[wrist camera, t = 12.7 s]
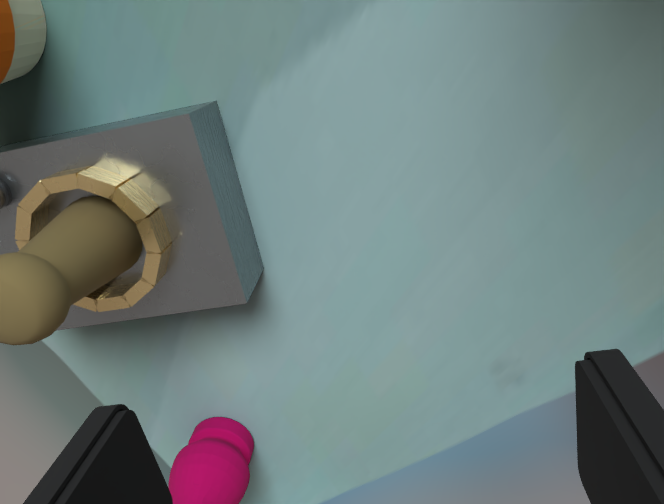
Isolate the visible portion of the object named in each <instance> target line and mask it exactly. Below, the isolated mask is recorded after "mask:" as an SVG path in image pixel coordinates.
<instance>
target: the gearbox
mask: <svg viewBox="0 0 664 504" xmlns="http://www.w3.org/2000/svg"><path fill="white" fill-rule="evenodd" d="M90 196H97V197H102V198H107V199H109V200H111V201H113V202H114V203H115V204H116V205H117V206H118V207H119V208H120V209H121V210H122V211H123V212H125V213H126V214H127V215H128V216H129V217H130V218H131V219H132V220H133V221H134V222H135V223H136V225H137V228H138V231H139V233H140V236H141V239H142V252H141V254H140V257H139V259H138V261H137V262H136V263H135V264H134V265H133V266H132V267H131V268H130V269H128V270H127V271H125V272H124V273H122V274H120V275H119V276H117V277H116V278H114V279H112V280H111V281H109V282H108V283H106V284H104V285H103V286H101V287H100V288H98V289H97V290H95V291H93V292H92V293H90V294H89V295H87V296H85V297H84V298H82V299H81V300H79V301H77V302H76V303H74V304H73V305H71V306H70V309H69V312H68V315H67V317H66V319H65V321H64V322H63V323H62V324H61V325H60V326H59V327H58V328H57V329H56V330H62V329H69V328H77V327H84V326H91V325H98V324H105V323H112V322H119V321H126V320H133V319H140V318H147V317H155V316H162V315H169V314H176V313H183V312H190V311H197V310H204V309H211V308H218V307H226V306H233V305H240V304H247V302H248V300H249V298H250V296H251V294H252V292H253V290H254V288H255V286H256V284H257V282H258V280H259V278H260V275H261V273H262V271H263V269H264V267H263V264H262V260H261V257H260V253H259V249H258V246H257V242H256V239H255V235H254V232H253V228H252V225H251V221H250V218H249V214H248V211H247V207H246V204H245V200H244V196H243V193H242V189H241V186H240V182H239V179H238V175H237V172H236V168H235V165H234V161H233V158H232V154H231V151H230V147H229V144H228V140H227V136H226V133H225V129H224V126H223V122H222V119H221V115H220V112H219V108H218V105H217V101H213V102H208V103H204V104H199V105H194V106H189V107H185V108H180V109H175V110H170V111H166V112H161V113H156V114H151V115H147V116H142V117H137V118H132V119H128V120H123V121H118V122H113V123H109V124H104V125H99V126H94V127H90V128H85V129H80V130H75V131H71V132H66V133H61V134H56V135H52V136H47V137H42V138H37V139H33V140H28V141H23V142H18V143H14V144H9V145H5V146H1V147H0V255H1V254H5V253H13V252H18V251H19V250H20V249H21V248H23V247H24V246H25V245H26V244H27V243H28V242H29V241H30V240H31V239H32V238H33V237H35V236H36V235H37V234H38V233H39V232H40V231H41V230H42V229H43V228H44V227H45V226H47V225H48V224H49V223H50V222H51V221H52V220H53V219H54V218H55V217H56V216H57V215H59V214H60V213H61V212H62V211H63V210H64V209H65V208H66V207H67V206H68V205H69V204H71V203H72V202H74V201H76V200H78V199H80V198H82V197H90Z"/></svg>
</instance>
